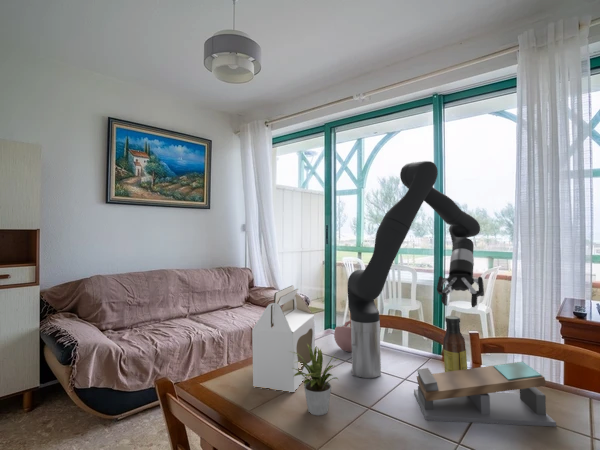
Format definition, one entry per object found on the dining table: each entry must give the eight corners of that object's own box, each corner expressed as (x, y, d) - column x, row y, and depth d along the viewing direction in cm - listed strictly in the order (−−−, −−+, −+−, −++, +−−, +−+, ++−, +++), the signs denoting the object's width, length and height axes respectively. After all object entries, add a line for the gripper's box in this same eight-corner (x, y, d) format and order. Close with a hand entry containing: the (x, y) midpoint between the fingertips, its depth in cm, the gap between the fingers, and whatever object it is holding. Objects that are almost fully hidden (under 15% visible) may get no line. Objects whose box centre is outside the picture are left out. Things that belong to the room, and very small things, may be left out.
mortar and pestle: (369, 347, 134) (368, 318, 134) (361, 358, 123) (360, 326, 123) (339, 344, 139) (339, 316, 139) (330, 354, 128) (329, 323, 128)
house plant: (279, 401, 93) (278, 341, 93) (324, 391, 98) (323, 334, 98) (300, 429, 79) (299, 358, 80) (351, 415, 85) (349, 349, 85)
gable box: (293, 393, 97) (291, 295, 98) (252, 388, 101) (250, 294, 102) (315, 364, 118) (314, 284, 119) (280, 361, 122) (279, 283, 123)
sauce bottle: (463, 379, 104) (461, 314, 104) (471, 388, 98) (469, 319, 98) (441, 379, 105) (439, 314, 105) (448, 388, 98) (446, 319, 99)
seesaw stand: (425, 420, 82) (425, 396, 82) (414, 392, 96) (413, 372, 96) (556, 426, 78) (555, 401, 78) (524, 397, 92) (523, 376, 92)
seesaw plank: (426, 401, 84) (423, 385, 84) (417, 383, 94) (414, 369, 94) (546, 385, 81) (542, 368, 81) (524, 368, 90) (520, 354, 91)
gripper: (438, 258, 122) (433, 298, 113) (482, 257, 114) (481, 300, 105) (442, 270, 127) (438, 309, 118) (485, 270, 118) (484, 312, 109)
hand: (458, 305), depth 111 cm, fingers open, 8 cm apart
